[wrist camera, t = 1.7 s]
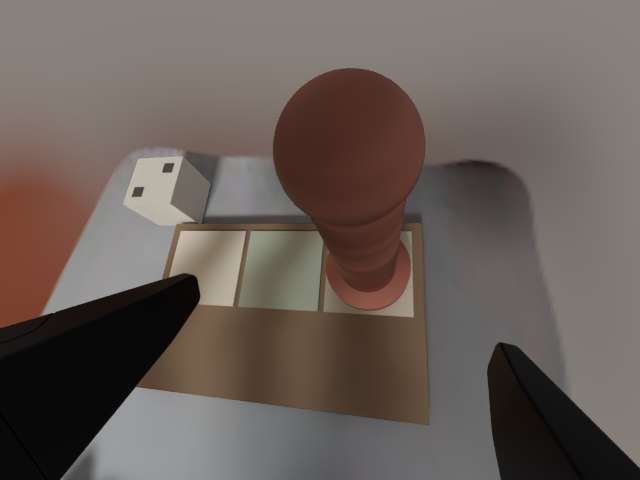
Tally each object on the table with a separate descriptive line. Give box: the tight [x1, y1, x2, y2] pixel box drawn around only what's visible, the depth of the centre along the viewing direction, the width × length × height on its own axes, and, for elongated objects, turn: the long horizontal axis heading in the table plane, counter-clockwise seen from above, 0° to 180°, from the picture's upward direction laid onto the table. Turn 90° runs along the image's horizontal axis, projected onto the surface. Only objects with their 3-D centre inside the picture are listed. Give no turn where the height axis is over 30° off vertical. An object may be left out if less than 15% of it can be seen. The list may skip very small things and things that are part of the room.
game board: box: [136, 223, 429, 425], centre depth 21 cm, size 19×12×1 cm, turn 86°
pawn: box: [273, 68, 425, 311], centre depth 13 cm, size 5×5×15 cm
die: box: [123, 156, 211, 226], centre depth 24 cm, size 4×4×4 cm
